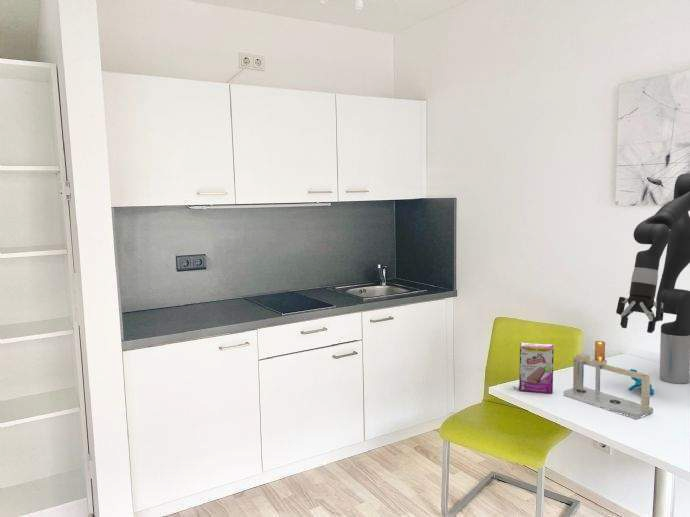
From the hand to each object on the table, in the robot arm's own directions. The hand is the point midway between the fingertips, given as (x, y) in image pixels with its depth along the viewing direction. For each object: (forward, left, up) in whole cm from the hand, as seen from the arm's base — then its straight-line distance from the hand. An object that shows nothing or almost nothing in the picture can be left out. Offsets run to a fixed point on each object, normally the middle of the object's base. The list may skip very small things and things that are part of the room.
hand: (636, 330), depth 174 cm
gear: (-4, 0, -22) cm, 23 cm away
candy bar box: (+23, -22, -22) cm, 39 cm away
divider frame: (+15, -1, -22) cm, 27 cm away
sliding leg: (+14, -4, -20) cm, 25 cm away
